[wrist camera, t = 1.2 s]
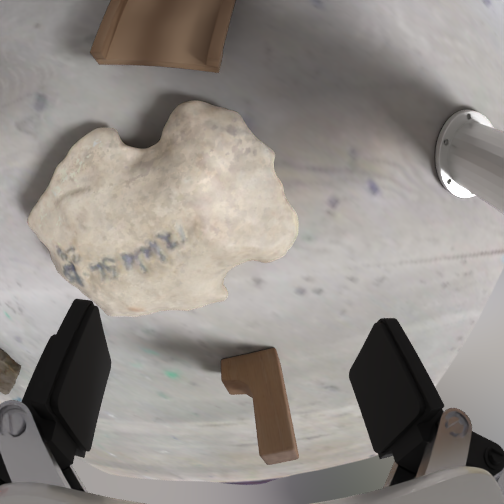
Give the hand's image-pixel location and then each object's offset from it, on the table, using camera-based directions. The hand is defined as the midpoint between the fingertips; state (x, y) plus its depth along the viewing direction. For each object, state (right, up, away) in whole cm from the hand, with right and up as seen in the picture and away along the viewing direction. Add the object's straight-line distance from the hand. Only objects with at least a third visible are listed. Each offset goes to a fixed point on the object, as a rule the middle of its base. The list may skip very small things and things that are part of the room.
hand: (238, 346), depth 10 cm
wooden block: (0, -15, +39) cm, 41 cm away
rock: (-11, +7, +25) cm, 28 cm away
